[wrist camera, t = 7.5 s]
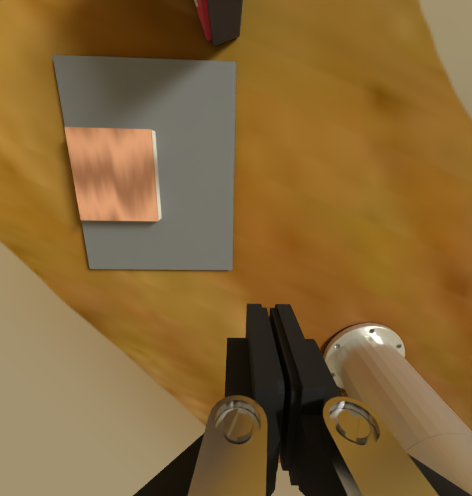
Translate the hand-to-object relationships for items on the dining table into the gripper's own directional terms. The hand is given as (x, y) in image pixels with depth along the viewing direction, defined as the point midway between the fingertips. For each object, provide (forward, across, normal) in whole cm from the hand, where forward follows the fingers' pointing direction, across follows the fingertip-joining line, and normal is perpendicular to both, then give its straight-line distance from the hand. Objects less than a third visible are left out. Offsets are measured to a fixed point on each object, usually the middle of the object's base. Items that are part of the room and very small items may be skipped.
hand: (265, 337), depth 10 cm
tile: (+22, +10, -6) cm, 25 cm away
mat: (+24, +11, -6) cm, 27 cm away
